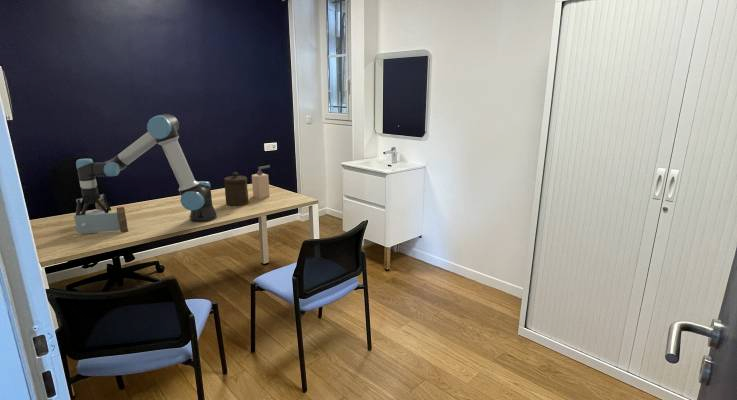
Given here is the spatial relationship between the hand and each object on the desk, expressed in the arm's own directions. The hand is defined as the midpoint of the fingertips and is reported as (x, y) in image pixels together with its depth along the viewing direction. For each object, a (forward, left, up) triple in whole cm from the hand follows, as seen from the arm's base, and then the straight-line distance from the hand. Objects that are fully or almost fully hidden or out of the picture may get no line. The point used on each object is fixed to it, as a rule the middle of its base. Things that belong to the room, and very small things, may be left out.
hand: (96, 225), depth 225 cm
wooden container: (-17, -80, -2) cm, 82 cm away
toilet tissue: (+1, +1, -1) cm, 1 cm away
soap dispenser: (-15, -104, -2) cm, 105 cm away
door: (-8, +1, -1) cm, 8 cm away
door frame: (+1, -8, -2) cm, 8 cm away
